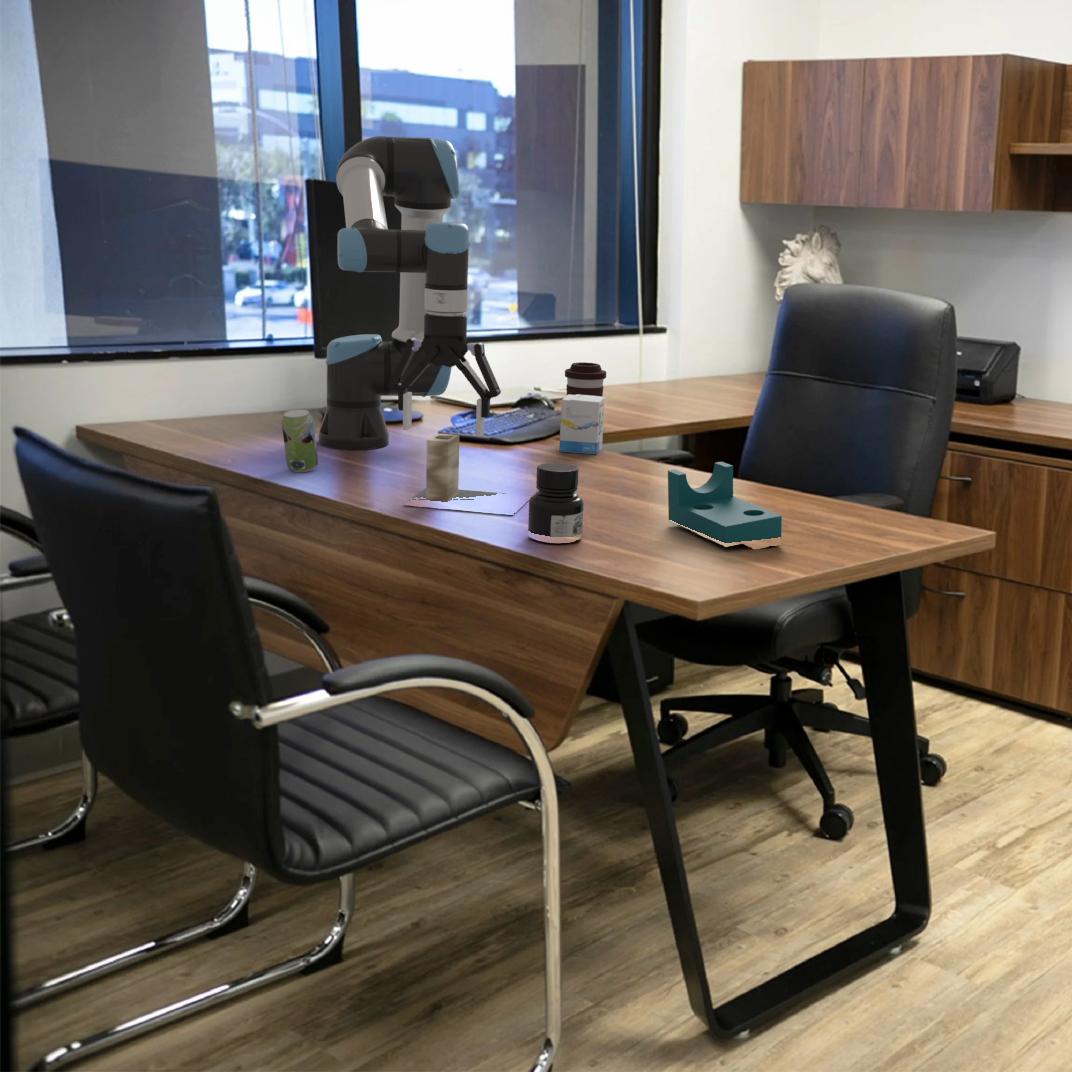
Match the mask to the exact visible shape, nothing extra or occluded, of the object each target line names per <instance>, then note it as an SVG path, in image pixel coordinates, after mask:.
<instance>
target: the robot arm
mask: <svg viewBox="0 0 1072 1072" xmlns="http://www.w3.org/2000/svg"><path fill="white" fill-rule="evenodd" d="M459 178H460V177H459V170H458V161H457V155H456V151H455V149H454V146H453V144H452V143H451V142H450V141H448V140H446V139H441V138H440V139H439V138H431V137H409V136H408V137H407V136H406V137H405V136H404V137H403V136H402V137H400V136H395V137H394V136H380V135H377V136H372V137H369V138H366V139H363V140H361V141H359V142H358V143H355V144H354V145H353V146H352V147H350V148H348V150H346V152H345V153H343V155H342V157H341V159H340V160H339V162H338V164H337V165H336V170H335V180H336V181H335V182H336V186H337V189H338V191H339V193H340V194H341V196H342V197H343V200H342V201H343V206H344V207H343V208H344V209H343V210H344V218H345V227H342V228H341V229H339V231H338V232H337V246H336V247H337V248H336V249H337V264H338V265H337V266H338V267H339V269H340V270H342V271H347V272H348V271H349V272H357V273H363V272H365V273H368V272H369V273H372V272H373V273H376V272H377V273H399V274H400V276H399V312H398V313H399V314H398V315H399V317H398V319H399V320H398V327H397V328H395V329H394V330H393V331H392V333H391V341H383V339H382V337H381V335H380V334H376V333H373V334H372V333H371V334H368V333H366V334H355V335H353V334H352V335H348V336H347V335H346V336H341V337H339V338H335V339H333V340H330V342H329V343H328V345H326V360H325V365H326V409H325V412H324V416H323V418H322V421H321V425H320V428H319V431H318V444H319V445H321V446H324V447H326V448H332V449H339V450H371V449H378V448H384V447H385V446H386V447H387V446H388V445H389V443H390V441H389V439H390V437H389V435H390V434H389V431H388V426H387V424H386V420H385V417H384V414H383V411H382V396H385V397H387V396H389V397H393V396H394V397H397V398H398V399H397V408H398V411H400V412H401V411H402V431H408V430H410V429H412V423H413V422H412V421H413V420H412V417H413V411H412V410H413V406H412V405H413V397H422V398H426V397H433V396H436V397H437V396H441V395H443V394H444V393H445V392H446V391H447V388H448V386H449V383H450V378H451V373H452V367H456V368H457V369H458V370H459V371H460V372H461V373H462V374H463V376H464V377H465V379H466V380H467V381H468V382H469V385H471V386H472V388H473V389H474V390H475V392H476V394H478V396H479V398H478V399H476V415H475V417H476V419H475V437H481V436H483V435H484V434H485V419H487V418H488V417H489V416H490V413H491V399H493V398H497V397H499V396H500V395H501V394H502V393H501V392H502V391H501V388H500V386H499V384H498V382H497V379H496V377H495V375H494V373H493V370H492V367H491V366H490V363H489V360H488V358H487V356H486V354H485V353H486V352H485V351H486V350H485V343H484V342H482V341H481V342H477V343H468V339H467V338H468V337H467V332H468V327H467V326H468V317H467V315H466V314H465V313H466V312H467V311H468V297H469V296H468V286H469V285H468V281H469V279H468V278H469V275H468V274H469V273H468V272H469V255H470V254H469V253H470V251H469V249H470V246H471V245H470V244H471V243H470V239H469V238H470V233H469V227H468V225H467V224H465V223H460V222H451V221H450V222H448V221H444V216H445V214H446V213H447V212H448V211H449V210H450V209H451V207H452V205H451V204H452V200H455V199H458V198H459V197H460V196H459V195H460V191H459V189H460V181H459ZM384 197H394V200H393V201H394V202H393V203H394V207H395V208H396V209H397V210H398V211H399V213H400V214H401V225H400V227H401V229H393V228H391V229H390V228H388V222H387V217H386V215H387V214H386V210H385V203H384ZM468 351H469V353H471V355H472V356H473V357H474V358H475V361H476V362H475V363H476V364H477V367H478V368H479V370H480V373H481V376H482V377H483V380H484V382H485V383H484V382H483V380H482V379H481V378H480V377H479V375H478V374H477V373H476V372H475V370H474V369H473V368H472V366H471V364H470V362H469V361H468V359H467V358H466V357H465V356H466V354H467V353H468Z"/></svg>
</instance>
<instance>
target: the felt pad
mask: <svg viewBox="0 0 1072 1072" xmlns="http://www.w3.org/2000/svg"><path fill="white" fill-rule="evenodd" d="M497 493H498V492H493V491H480V490H468V489H459V488H458V494H457V495H456V496H455V497H454V498H456V497H459V498H463V497H466V498H469V497H476V496H484V495H486V496H491V495H496V494H497ZM501 493H502V494H506V493H505V492H504V493H503V492H501ZM415 497H417V498H421V497H423V498H426V487H425V488H423V489H422V490H420V491H419V492H418V493H417V494H415V495H413V496H412V497H411V498H415ZM411 498H410V499H411ZM410 499H408V500H409V501H410ZM412 500H416V499H412ZM418 500H426V499H418ZM451 500H452V499H451ZM453 500H458V499H453ZM460 500H474V499H460Z"/></svg>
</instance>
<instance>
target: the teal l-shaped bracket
mask: <svg viewBox="0 0 1072 1072" xmlns="http://www.w3.org/2000/svg"><path fill="white" fill-rule="evenodd" d="M667 492H668V493H667V494H668V495H667V498H668V499H667V503H668V521H669V520H672V521H674V522H676V523H678V524H680V525H683V526H685V527H688V528H690V529H692V530H695V531H697V532H700V533H703V534H705V535H707V536H709V537H711V538H714V539H716V540H719V541H721V542H724V543H732V542H741V541H752V540H761V539H771V538H778V537H781V538H782V523H783V522H782V515H780V514H777V513H775V512H773V511H770V510H768V509H766V508H763V507H761V506H759V505H755V504H754V503H751V502H749V501H746V500H744V499H741V498H738V497H736V496H734V465H732V464H730V463H726V462H724V461H717V462H714V467H713V471H712V473H711V476H710V478H709V479H708V480H707V481H706V482H705V483H704V484H702V485H701V486H698V487H695V488H694V487H693V488H692V487H691V486H690V484H689V482H688V478H687V473H685V472H682V471H681V470H680V471H679V470H678V469H671V470H670V469H669V470H667Z"/></svg>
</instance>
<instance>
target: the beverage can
mask: <svg viewBox="0 0 1072 1072" xmlns="http://www.w3.org/2000/svg"><path fill="white" fill-rule="evenodd" d="M281 429H282V435H283V444H284V452H285V453H284V454H285V461H286V467H287V468H288V469H289V470H290V471H292V472H295V473H305V472H306V473H308V472H311V471H313V470H314V469H315V468H316V467H317V466H318V464H319V461H318V451H317V442H316V434H315V433H316V432H315V425H314V417H313V415H311V413H310V411H309V410H307V409H300V408H299V409H297V408H296V409H291V410H290V409H289V410H288V411H285V412H284V413H283V417H282V419H281Z"/></svg>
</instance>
